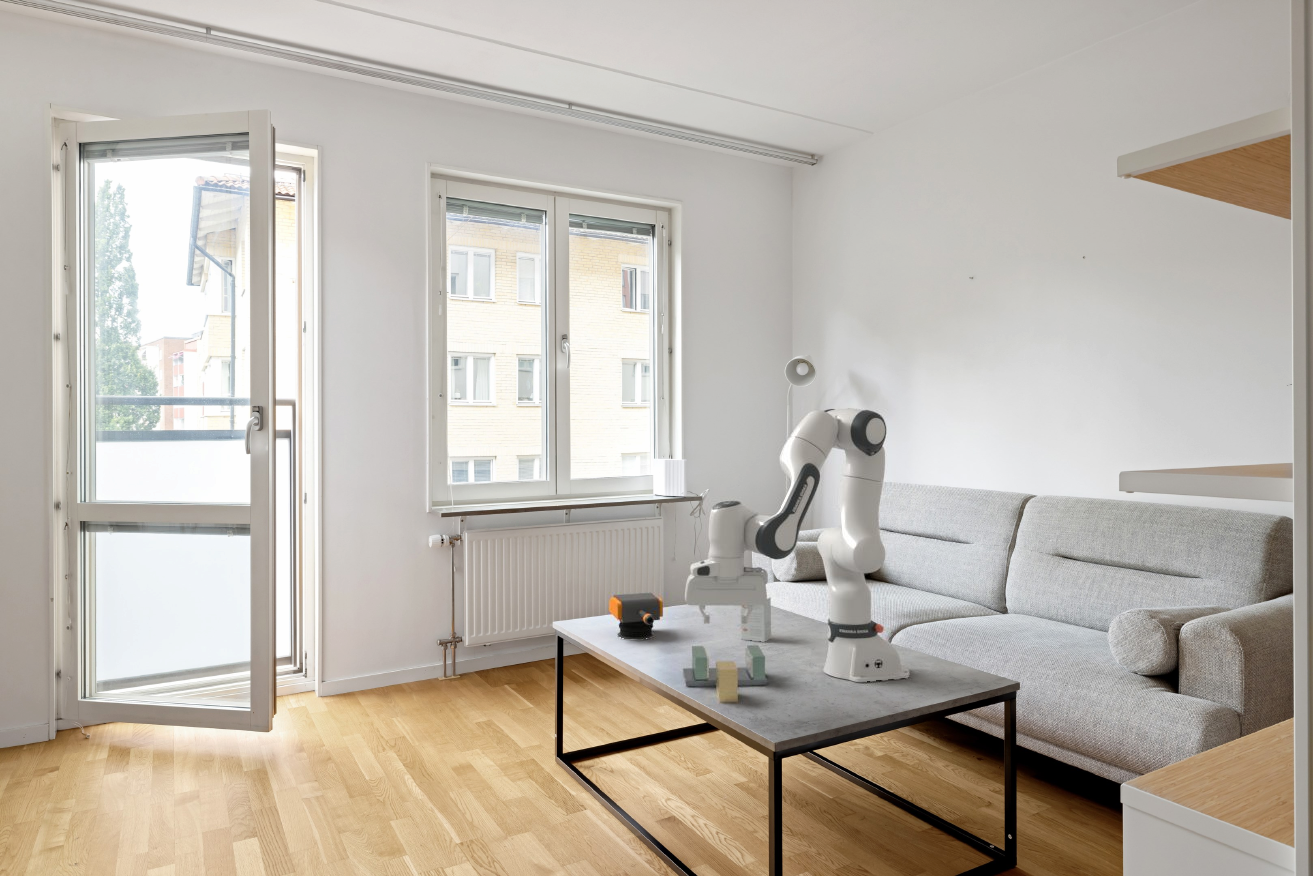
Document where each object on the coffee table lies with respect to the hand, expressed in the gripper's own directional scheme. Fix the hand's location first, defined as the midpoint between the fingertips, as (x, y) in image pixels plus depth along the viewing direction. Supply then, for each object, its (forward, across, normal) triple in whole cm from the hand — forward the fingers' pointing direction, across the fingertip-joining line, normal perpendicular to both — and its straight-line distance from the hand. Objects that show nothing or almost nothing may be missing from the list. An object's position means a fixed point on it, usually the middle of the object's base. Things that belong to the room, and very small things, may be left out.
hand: (725, 623), depth 206 cm
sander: (+19, +20, -58) cm, 64 cm away
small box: (+18, -16, -56) cm, 61 cm away
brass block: (+18, 0, 0) cm, 19 cm away
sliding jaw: (+17, +5, -15) cm, 23 cm away
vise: (+18, -2, -15) cm, 24 cm away
